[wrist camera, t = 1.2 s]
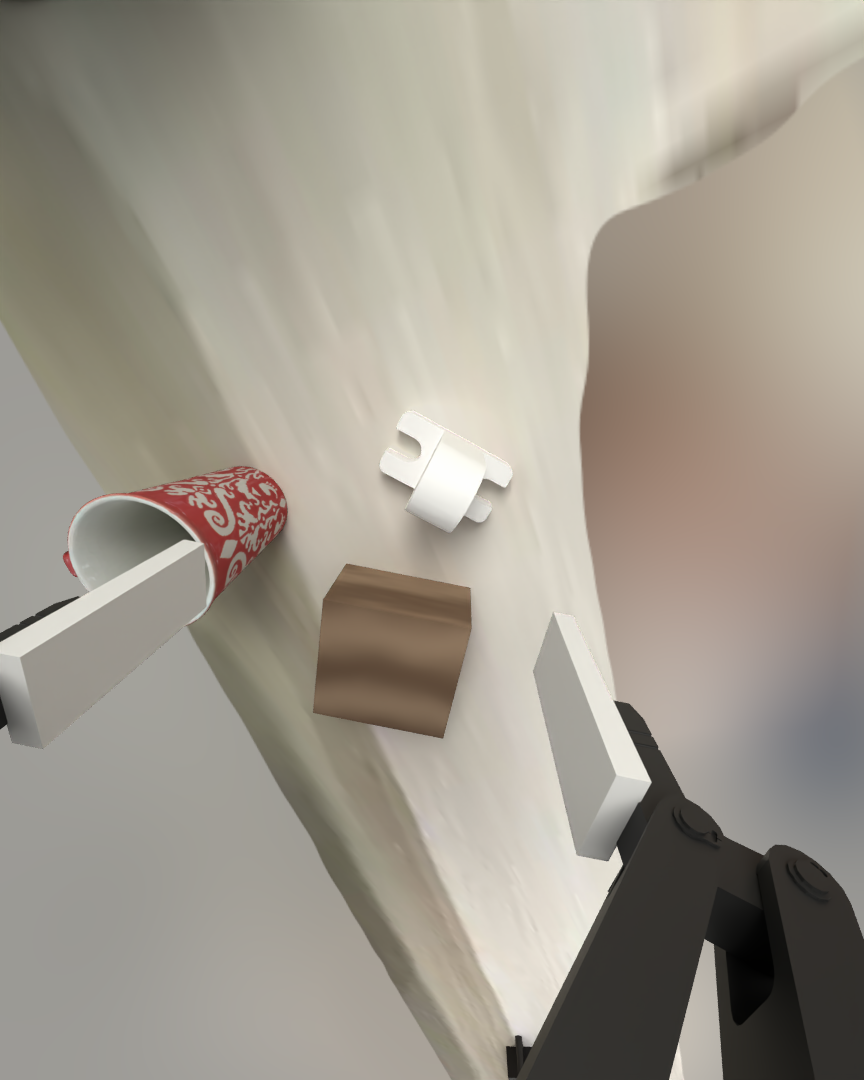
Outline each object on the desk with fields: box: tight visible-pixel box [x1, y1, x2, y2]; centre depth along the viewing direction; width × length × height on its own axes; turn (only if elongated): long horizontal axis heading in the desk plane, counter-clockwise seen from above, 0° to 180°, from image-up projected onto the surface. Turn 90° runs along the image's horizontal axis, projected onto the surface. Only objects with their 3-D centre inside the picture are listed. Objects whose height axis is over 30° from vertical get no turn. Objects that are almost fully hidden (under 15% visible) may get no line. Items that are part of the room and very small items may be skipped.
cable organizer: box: [379, 410, 513, 533], centre depth 30 cm, size 5×10×10 cm, turn 62°
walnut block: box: [313, 564, 471, 738], centre depth 37 cm, size 12×12×7 cm
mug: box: [63, 466, 287, 626], centre depth 31 cm, size 13×9×14 cm
